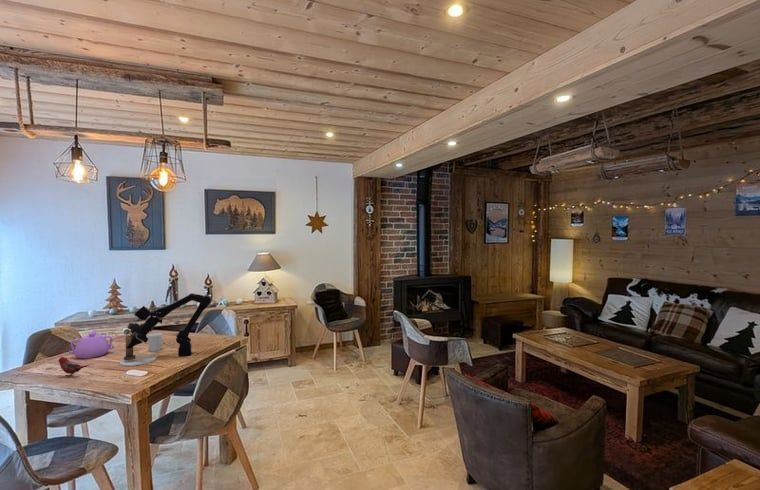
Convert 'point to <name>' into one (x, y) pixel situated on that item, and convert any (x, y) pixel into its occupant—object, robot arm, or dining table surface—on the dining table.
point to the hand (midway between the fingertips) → (126, 347)
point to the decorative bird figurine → (69, 366)
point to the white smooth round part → (138, 360)
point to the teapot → (91, 346)
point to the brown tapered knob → (129, 351)
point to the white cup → (155, 341)
